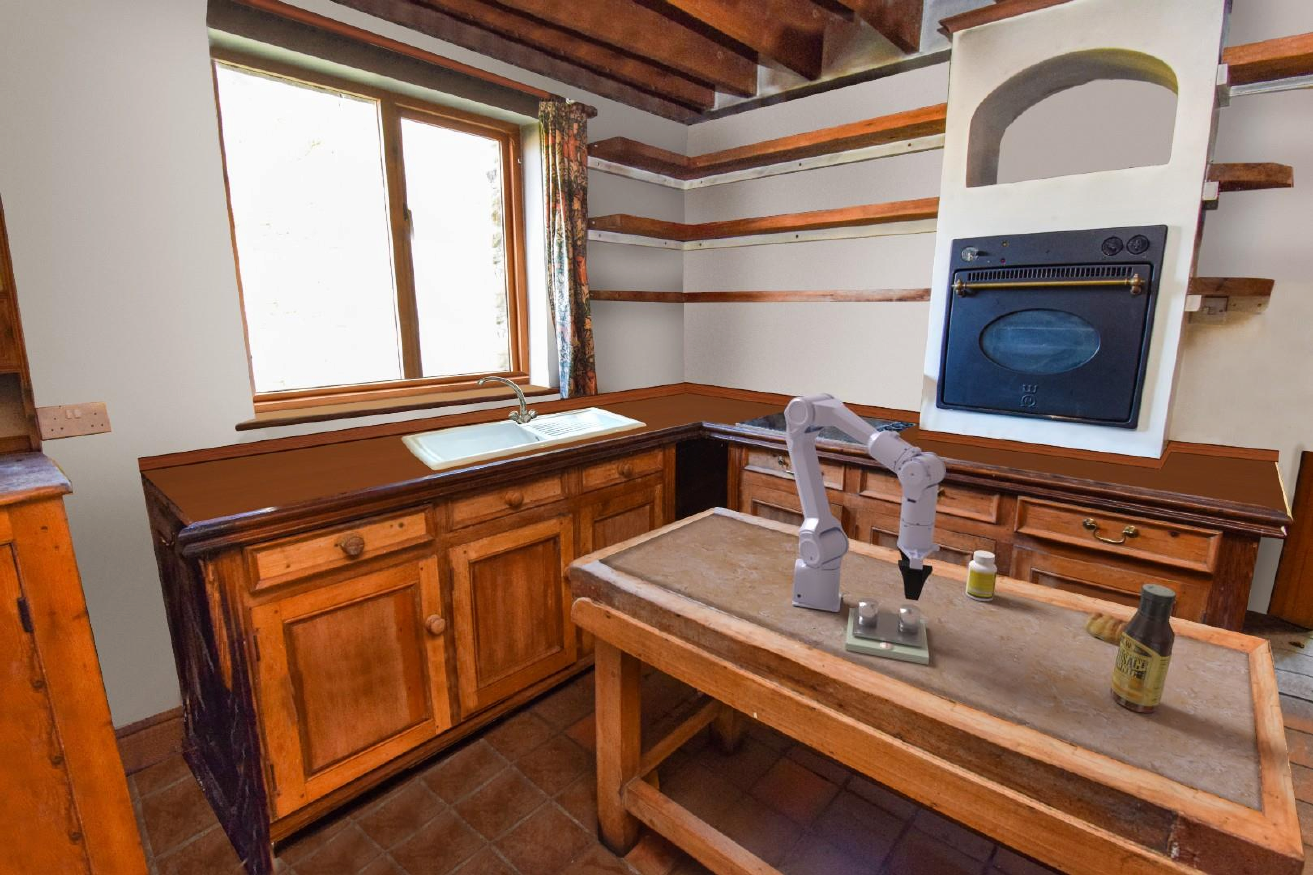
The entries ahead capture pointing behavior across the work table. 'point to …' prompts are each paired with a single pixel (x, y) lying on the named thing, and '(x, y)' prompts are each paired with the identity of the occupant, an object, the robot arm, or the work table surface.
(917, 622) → the cylinder
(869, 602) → the cylinder
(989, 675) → the work table surface
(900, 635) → the scale platform
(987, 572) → the supplement bottle
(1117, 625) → the pastry
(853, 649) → the scale
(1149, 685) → the sauce bottle
